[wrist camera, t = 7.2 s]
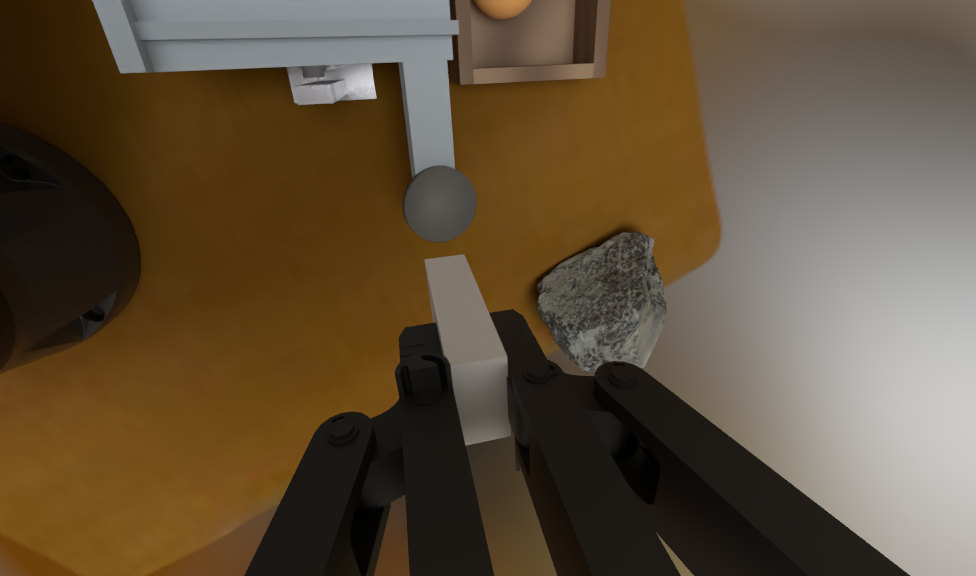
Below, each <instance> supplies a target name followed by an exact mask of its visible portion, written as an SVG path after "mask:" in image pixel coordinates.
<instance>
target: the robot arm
mask: <svg viewBox="0 0 976 576" xmlns="http://www.w3.org/2000/svg"><path fill="white" fill-rule="evenodd" d="M425 267H426V275H427V282H428V289H429V297H430V304H431V311H432V319H433V323H430V324H424V325H418V326H412V327H406V328H404V330H403V332H402V333H401V335H400V337H399V348H400V363H399V365H398V366H397V367H396V371H395V377H396V382H397V387H398V392H399V397H400V398H399V400H398V401H397V402H396V404H395V405H394V406H393V407H391V408H390V409H389V410H387V411H386V412H384V413H382V414H380V415H378V416H376V417H373V418H371V419H370V418H369V417H368V416H366V415H364V414H363V413H359V412H346V413H340V414H338V415H336V416H333V417H331V418H329V419H328V420H326V421H325V422H324V423H322V424H321V425H320V426H319V428H318V429H317V430H316V432H315V433H314V435H313V437H312V439H311V441H310V443H309V445H308V447H307V449H306V451H305V453H304V455H303V457H302V459H301V462H300V464H299V466H298V468H297V470H296V472H295V474H294V476H293V478H292V480H291V482H290V484H289V486H288V488H287V490H286V492H285V494H284V496H283V498H282V500H281V502H280V504H279V506H278V508H277V511H276V512H275V514H274V517H273V518H272V521H271V523H270V525H269V527H268V529H267V531H266V533H265V535H264V537H263V539H262V541H261V543H260V545H259V547H258V549H257V551H256V553H255V555H254V557H253V559H252V561H251V563H250V565H249V567H248V569H247V571H246V574H245V575H244V576H374V573H375V569H376V564H377V561H378V557H379V553H380V548H381V544H382V540H383V536H384V532H385V528H386V524H387V520H388V516H389V512H390V507H391V506H390V505H391V502H392V501H394V500H396V499H398V498H400V497H401V496H403V495H405V497H406V513H407V514H406V515H407V532H408V550H409V568H410V576H494V573H493V569H492V564H491V559H490V555H489V550H488V546H487V541H486V537H485V532H484V528H483V523H482V518H481V515H480V509H479V505H478V500H477V495H476V491H475V486H474V482H473V477H472V473H471V468H470V464H469V459H468V455H467V450H466V445H470V444H475V443H479V442H484V441H489V440H494V439H498V438H503V437H508V436H511V434H510V433H511V432H510V424H511V427H512V430H513V433H514V436H515V461H516V471H519V470H520V466H521V469H522V472H523V475H524V478H525V481H526V484H527V487H528V490H529V493H530V496H531V499H532V502H533V505H534V508H535V511H536V514H537V517H538V520H539V523H540V525H541V528H542V532H543V535H544V537H545V540H546V544H547V546H548V549H549V553H550V555H551V558H552V561H553V564H554V567H555V570H556V573H557V576H681V575H680V574H679V572H678V570H677V569H676V567H675V565H674V563H673V561H672V560H671V558H670V556H669V554H668V553H667V551H666V549H665V548H664V546H663V544H662V542H661V541H660V539H659V537H658V535H659V536H660V537H661V538H662V539H663V541H664V542H665V543H666V544H667V545H668V546H669V547H670V548H671V550H672V551H673V552H674V553H675V554H676V555H677V557H678V558H679V559H680V560H681V561H682V562H683V564H684V565H685V566H686V567H687V568H688V569H689V570H690V572H691V573H692V574H693V575H694V576H910V575H909V574H907V573H906V572H905V571H903V570H902V569H901V568H900V567H898V566H897V565H896V564H894V563H893V562H892V561H890V560H889V559H888V558H886V557H885V556H884V555H883V554H881V553H880V552H879V551H877V550H876V549H875V548H873V547H872V546H871V545H870V544H868V543H867V542H866V541H865V540H863V539H862V538H860V537H859V536H858V535H857V534H855V533H854V532H853V531H851V530H850V529H849V528H848V527H846V526H845V525H844V524H842V523H841V522H840V521H839V520H837V519H836V518H835V517H833V516H832V515H831V514H829V513H828V512H827V511H825V510H824V509H823V508H822V507H820V506H819V505H818V504H817V503H815V502H814V501H813V500H811V499H810V498H809V497H807V496H806V495H805V494H803V493H802V492H801V491H800V490H798V489H797V488H795V487H794V486H793V485H792V484H791V483H789V482H788V481H787V480H785V479H784V478H783V477H781V476H780V475H779V474H778V473H776V472H775V471H774V470H772V469H771V468H770V467H768V466H767V465H766V464H764V463H763V462H762V461H761V460H759V459H758V458H757V457H756V456H754V455H753V454H751V453H750V452H749V451H748V450H746V449H745V448H744V447H742V446H741V445H740V444H739V443H737V442H736V441H735V440H733V439H732V438H731V437H729V436H728V435H727V434H725V433H724V432H723V431H722V430H721V429H719V428H718V427H716V426H715V425H714V424H713V423H711V422H710V421H709V420H708V419H706V418H705V417H704V416H702V415H701V414H700V413H698V412H697V411H696V410H695V409H693V408H692V407H691V406H689V405H688V404H687V403H685V402H684V401H683V400H682V399H680V398H679V397H678V396H676V395H675V394H674V393H673V392H671V391H670V390H669V389H667V388H666V387H665V386H663V385H662V384H661V383H660V382H658V381H657V380H656V379H654V378H653V377H652V376H651V375H649V374H648V373H646V372H645V371H644V370H643V369H641V368H639V367H638V366H636V365H634V364H631V363H627V362H624V361H612V362H607V363H604V364H602V365H601V366H599V367H598V368H597V370H596V372H595V376H576V375H569V374H566V373H564V372H563V371H562V369H561V368H560V367H559V366H558V365H557V364H556V363H553V362H551V361H550V360H547V358H546V357H545V355H544V353H543V351H542V349H541V348H540V346H539V344H538V342H537V340H536V338H535V337H534V335H533V334H532V331H531V329H530V328H529V327H528V324H527V322H526V320H525V318H524V317H523V316H522V315H521V314H519V313H518V312H516V311H515V310H513V309H511V310H505V311H499V312H492V313H489V312H488V310H487V307H486V305H485V302H484V300H483V298H482V295H481V293H480V291H479V288H478V286H477V284H476V281H475V279H474V276H473V274H472V272H471V269H470V267H469V265H468V262H467V260H466V257H465V255H464V254H462V255H455V256H447V257H440V258H433V259H425ZM139 273H140V256H139V249H138V244H137V241H136V237H135V234H134V232H133V229H132V227H131V225H130V223H129V221H128V219H127V217H126V215H125V214H124V212H123V210H122V209H121V207H120V206H119V204H118V203H117V201H116V200H115V199H114V198H113V196H112V195H111V194H110V193H109V191H108V190H107V189H106V188H105V187H104V186H103V185H102V184H101V183H100V182H99V181H98V180H97V179H96V178H95V177H94V176H93V175H92V174H91V173H90V172H89V171H87V170H86V169H85V168H84V167H83V166H81V165H80V164H79V163H77V162H76V161H75V160H73V159H72V158H71V157H69V156H68V155H66V154H65V153H63V152H62V151H60V150H59V149H57V148H55V147H54V146H52V145H50V144H48V143H47V142H45V141H43V140H41V139H39V138H37V137H35V136H33V135H31V134H28V133H26V132H24V131H21V130H19V129H16V128H14V127H11V126H8V125H5V124H2V123H0V373H3V372H6V371H9V370H11V369H14V368H17V367H19V366H22V365H25V364H27V363H30V362H33V361H35V360H38V359H41V358H43V357H46V356H49V355H51V354H54V353H57V352H60V351H62V350H65V349H68V348H70V347H73V346H75V345H77V344H79V343H81V342H83V341H85V340H86V339H88V338H90V337H91V336H93V335H94V334H96V333H97V332H99V331H100V330H101V329H102V328H103V327H105V326H106V325H107V324H108V323H109V322H110V321H111V320H112V319H113V318H114V317H115V316H117V315H118V314H119V313H120V312H121V311H122V310H123V309H124V307H125V306H126V305H127V304H128V302H129V301H130V299H131V297H132V295H133V294H134V291H135V289H136V286H137V283H138V279H139ZM655 531H656V532H657V534H658V535H657V534H656V532H655Z"/></svg>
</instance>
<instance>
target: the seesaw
mask: <svg viewBox="0 0 976 576" xmlns="http://www.w3.org/2000/svg"><path fill="white" fill-rule="evenodd" d="M92 1H93V3H94V6H95V8H96V11H97V14H98V16H99V19H100V21H101V24H102V27H103V29H104V32H105V34H106V37H107V40H108V42H109V45H110V48H111V50H112V53H113V55H114V58H115V61H116V63H117V66H118V68H119V71H120V73H149V72H173V71H197V70H221V69H245V68H269V67H294V66H301V69H302V73H303V78H317V77H325V72H324V66H323V65H342V64H366V63H390V62H398V64H399V72H400V81H401V89H402V98H403V106H404V115H405V123H406V132H407V140H408V148H409V157H410V165H411V174H412V179H411V181H410V182H409V184H408V185H407V187H406V189H405V192H404V195H403V202H402V207H403V214H404V217H405V220H406V222H407V224H408V225H409V226H410V228H411V229H412V230H413V231H414V232H415V233H416V234H417V235H419V236H420V237H422V238H423V239H426V240H428V241H432V242H445V241H449V240H451V239H454V238H456V237H457V236H459V235H460V234H462V233H463V232H464V231H465V230H466V229H467V227H468V226H469V225H470V223H471V221H472V219H473V217H474V215H475V211H476V193H475V190H474V187H473V185H472V183H471V182H470V180H469V179H468V178H467V177H466V176H465V175H464V174H463V173H461V172H459V171H458V170H455V162H454V148H453V134H452V120H451V106H450V93H449V79H448V65H447V60H453V50H452V35H458V34H459V22H458V20H450V5H449V0H92Z"/></svg>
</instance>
